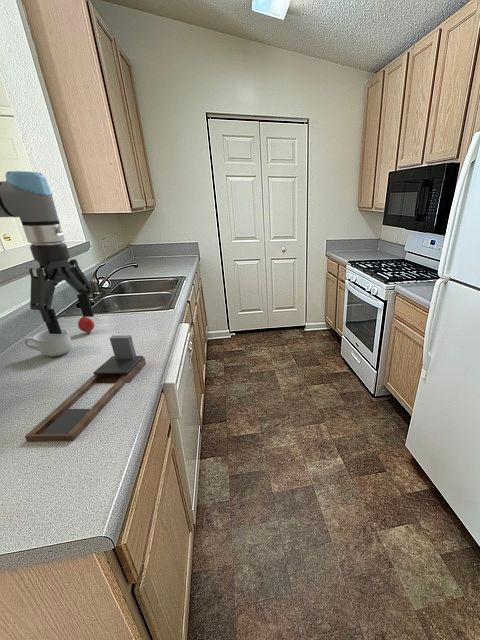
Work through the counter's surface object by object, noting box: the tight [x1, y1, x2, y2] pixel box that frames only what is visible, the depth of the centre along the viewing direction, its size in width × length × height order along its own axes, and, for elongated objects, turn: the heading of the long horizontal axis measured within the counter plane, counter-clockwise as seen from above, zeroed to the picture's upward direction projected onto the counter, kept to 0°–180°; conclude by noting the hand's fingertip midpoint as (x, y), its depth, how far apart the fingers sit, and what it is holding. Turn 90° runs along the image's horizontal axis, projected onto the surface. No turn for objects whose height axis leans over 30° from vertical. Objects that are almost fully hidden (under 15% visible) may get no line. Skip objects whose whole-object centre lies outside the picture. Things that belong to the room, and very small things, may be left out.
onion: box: [77, 315, 95, 334], centre depth 142 cm, size 6×6×8 cm
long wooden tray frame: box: [24, 356, 147, 443], centre depth 97 cm, size 42×11×3 cm, turn 1°
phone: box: [41, 408, 91, 434], centre depth 84 cm, size 11×6×1 cm, turn 1°
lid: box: [93, 334, 144, 375], centre depth 107 cm, size 12×11×8 cm
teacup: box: [24, 328, 73, 358], centre depth 123 cm, size 14×11×8 cm
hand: (73, 324), depth 91 cm, fingers open, 13 cm apart
